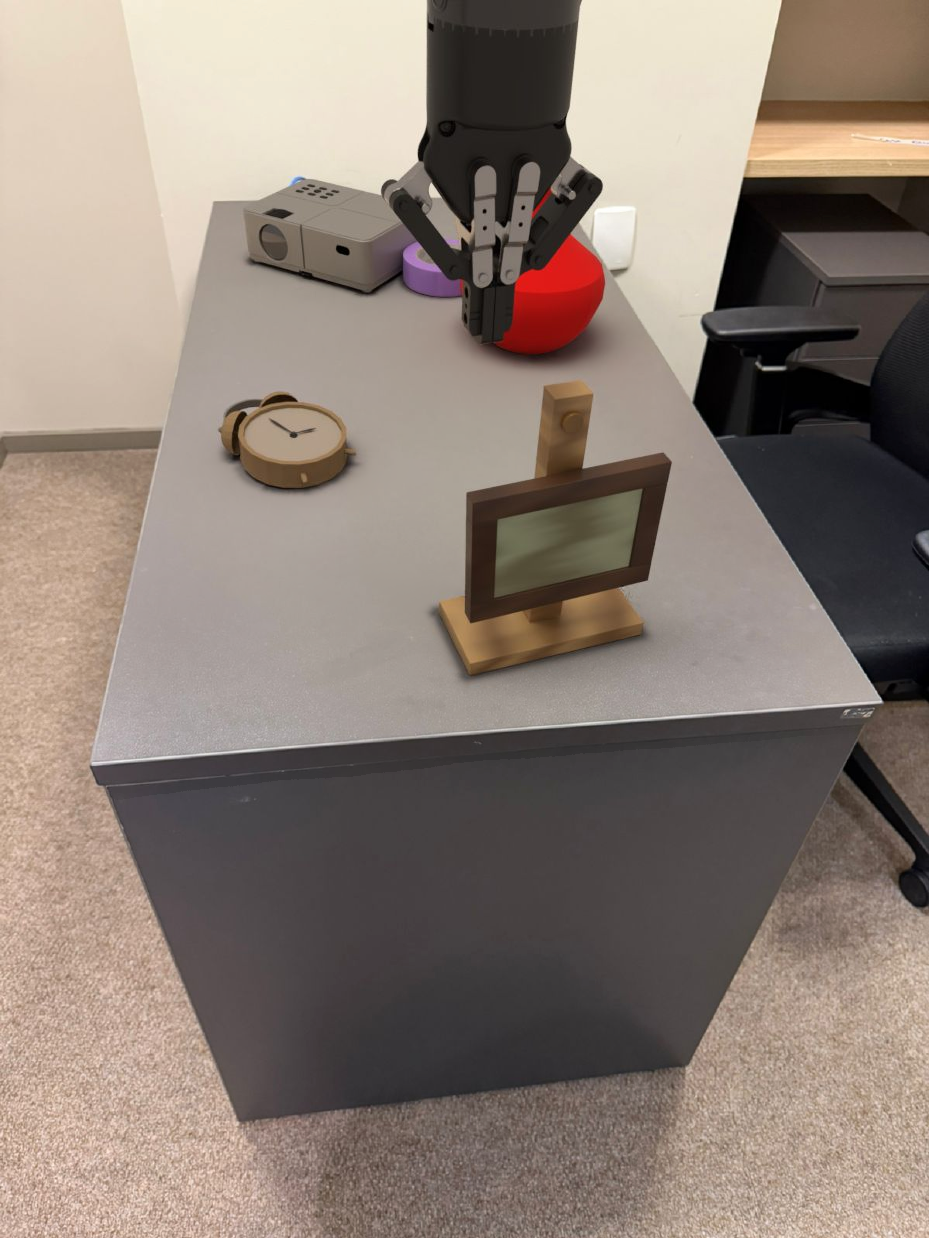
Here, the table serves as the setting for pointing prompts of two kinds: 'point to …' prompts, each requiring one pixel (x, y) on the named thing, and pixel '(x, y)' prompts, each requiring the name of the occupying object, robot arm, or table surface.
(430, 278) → the tape roll
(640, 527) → the frame
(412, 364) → the table surface
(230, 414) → the alarm clock
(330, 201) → the projector
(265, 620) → the table surface
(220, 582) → the table surface
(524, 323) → the vase
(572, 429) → the stand
